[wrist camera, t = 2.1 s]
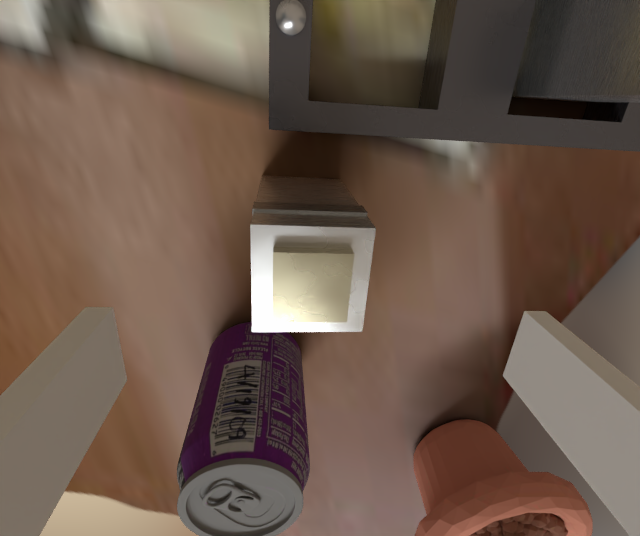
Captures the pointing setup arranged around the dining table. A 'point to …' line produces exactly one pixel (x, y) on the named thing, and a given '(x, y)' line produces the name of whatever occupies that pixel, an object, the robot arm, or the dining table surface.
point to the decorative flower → (490, 488)
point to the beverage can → (246, 438)
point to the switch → (485, 75)
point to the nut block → (309, 256)
